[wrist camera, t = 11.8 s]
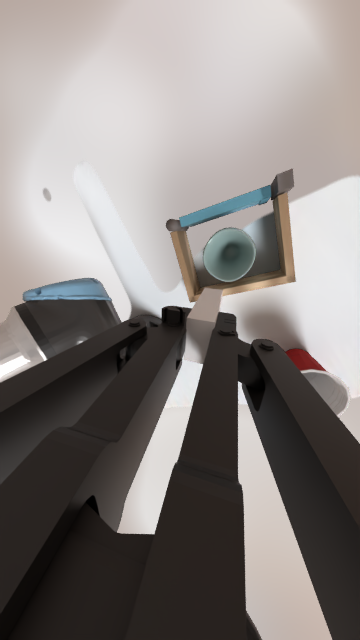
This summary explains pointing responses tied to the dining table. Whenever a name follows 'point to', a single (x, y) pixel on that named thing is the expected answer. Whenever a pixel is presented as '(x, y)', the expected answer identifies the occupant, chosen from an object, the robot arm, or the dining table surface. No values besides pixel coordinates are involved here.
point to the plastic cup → (322, 381)
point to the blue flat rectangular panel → (227, 207)
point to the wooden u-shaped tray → (283, 276)
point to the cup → (229, 254)
